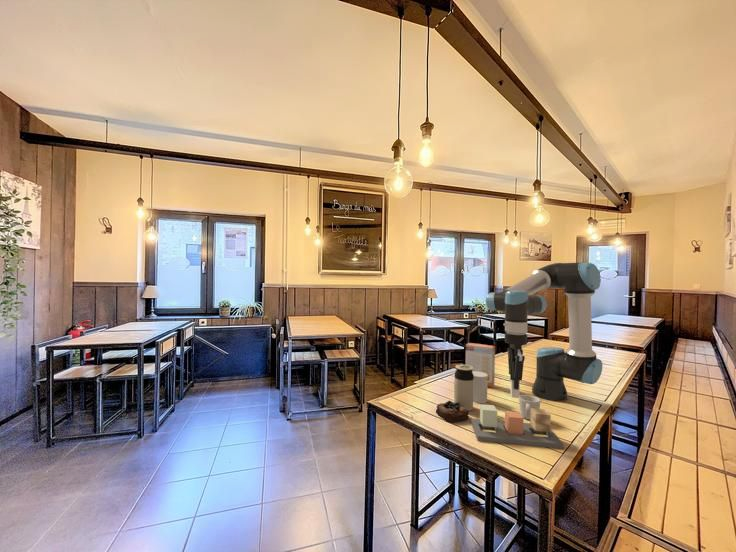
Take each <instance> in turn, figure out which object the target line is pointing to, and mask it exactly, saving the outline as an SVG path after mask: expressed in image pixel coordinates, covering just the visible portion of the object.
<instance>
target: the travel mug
mask: <svg viewBox="0 0 736 552" xmlns="http://www.w3.org/2000/svg"><path fill="white" fill-rule="evenodd" d="M472 370H473V367H472V366H469V365H466V364H455V371H454V381H453V382H454V383H453V384H454V385H453V387H454V388H453V389H454V391H453V392H454V393H453V402H459V403H460V406H462V407H463V408H466V409H468V412H469V411H472V410H473V409H474V402H473V383H474V375H473V373H472Z"/></svg>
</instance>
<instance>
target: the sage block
mask: <svg viewBox="0 0 736 552" xmlns="http://www.w3.org/2000/svg"><path fill="white" fill-rule="evenodd" d="M479 404H480V405H479V419H480V422H481V424H482V426H486V427H497V421H498V410H497V407H495V405H494V404H483V403H479Z"/></svg>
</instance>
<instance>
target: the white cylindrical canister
mask: <svg viewBox="0 0 736 552" xmlns="http://www.w3.org/2000/svg"><path fill="white" fill-rule="evenodd" d="M472 373H473V375H474V383H473V403H476V404H485V403H487V402H488V387H487V381H488V375H487V374H486V373H483V372H478V371H473V372H472Z"/></svg>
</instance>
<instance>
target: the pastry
mask: <svg viewBox="0 0 736 552" xmlns="http://www.w3.org/2000/svg"><path fill="white" fill-rule="evenodd" d="M436 413H437V414H438V415H437V414H436ZM435 414H436V415H437V416H439V417H440V418H441V419H442V418H443V421H445V422H446V423H449V424H450V423H451V424H452V423H453V424H455V423H460V422H465V421H467V420H469V418H470V417H469V415H470V414H469V411H468V409H466V408H463V407H462V406H460V403H459V402H454V401H452V400H448V401H446V402H443V403H442V402H440V403H438V404H437V405H436V410H435Z"/></svg>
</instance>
